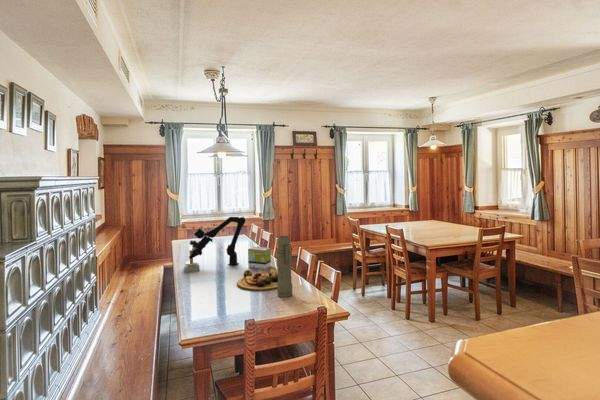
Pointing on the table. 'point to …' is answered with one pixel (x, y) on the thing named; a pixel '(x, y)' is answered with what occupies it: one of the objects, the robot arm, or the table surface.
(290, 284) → the grey-green tall block
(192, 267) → the box
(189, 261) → the cover plate
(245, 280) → the wooden plate with food
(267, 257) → the tea box
